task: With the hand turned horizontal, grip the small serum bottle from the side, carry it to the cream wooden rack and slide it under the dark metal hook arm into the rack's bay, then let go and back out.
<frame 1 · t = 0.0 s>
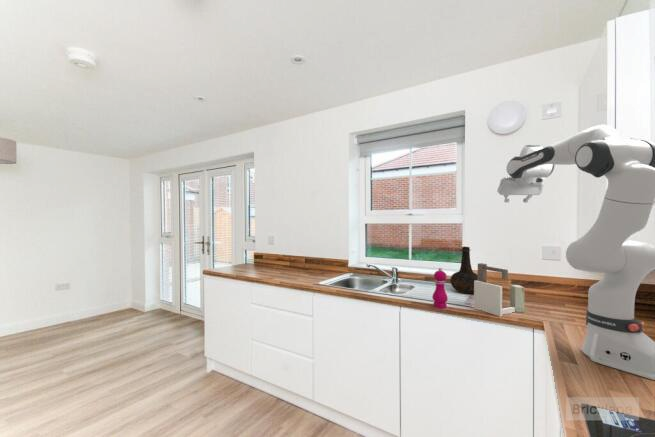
hand: (515, 202, 154), 54 cm above the countertop, tool tilted 30°, fingers open, 8 cm apart
pepper mill: (439, 306, 152), on the countertop
glass bottle: (465, 292, 182), on the countertop
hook: (496, 310, 146), on the countertop
skincare box: (517, 310, 147), on the countertop
rack: (496, 310, 146), on the countertop
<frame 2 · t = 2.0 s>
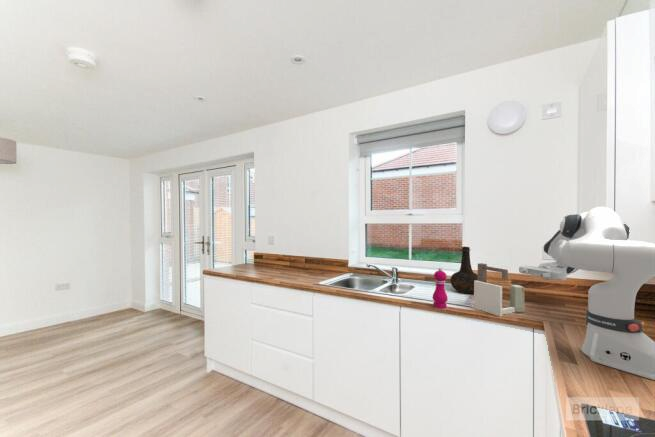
hand: (532, 273, 152), 17 cm above the countertop, tool horizontal, fingers open, 8 cm apart
nothing on the countertop moved.
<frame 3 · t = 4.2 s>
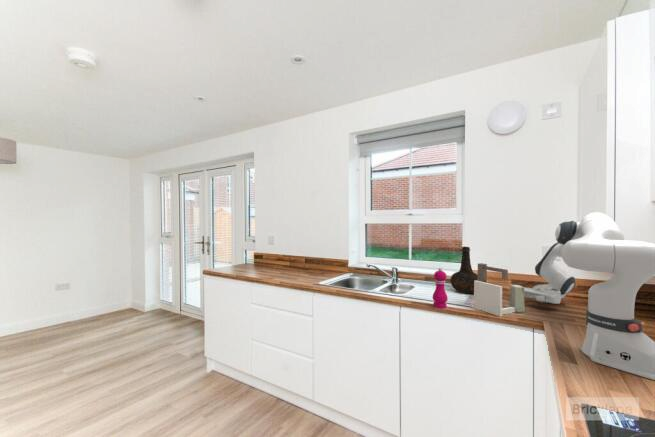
hand: (525, 295, 149), 7 cm above the countertop, tool horizontal, fingers open, 8 cm apart
nothing on the countertop moved.
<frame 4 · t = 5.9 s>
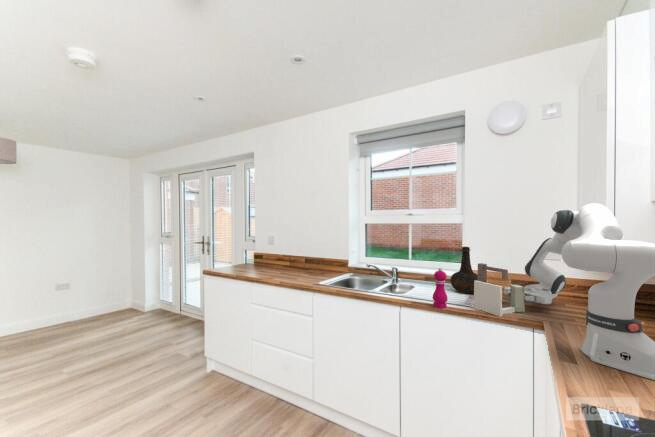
hand: (516, 296, 146), 7 cm above the countertop, tool horizontal, fingers closed on skincare box, 7 cm apart
skincare box: (517, 310, 147), on the countertop, touching gripper
everything else where it was.
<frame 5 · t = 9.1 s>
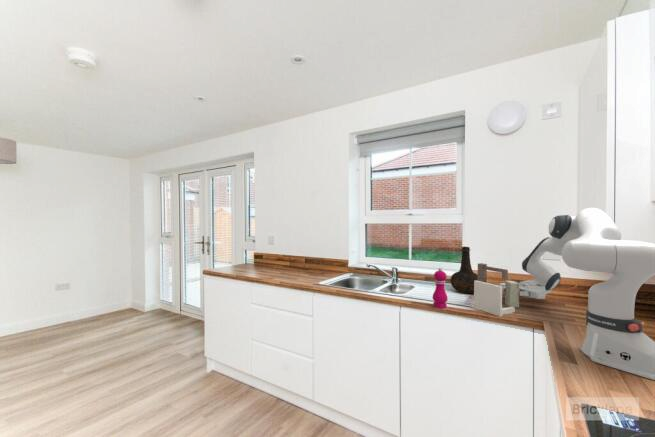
hand: (510, 291, 151), 8 cm above the countertop, tool horizontal, fingers closed on skincare box, 7 cm apart
skincare box: (511, 305, 152), point 1 cm above the countertop, touching gripper
everything else where it was.
when the fingers open (8 cm above the countertop, at t = 12.6 s): skincare box stays where it is, on the countertop.
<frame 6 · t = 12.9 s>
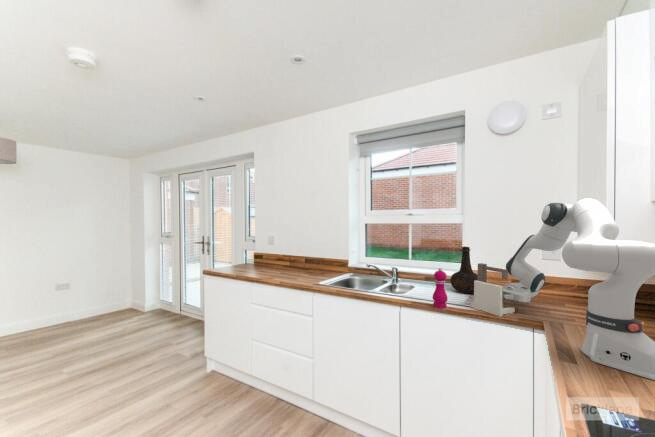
hand: (495, 294, 146), 8 cm above the countertop, tool horizontal, fingers open, 8 cm apart
skincare box: (496, 310, 146), on the countertop
everything else where it was.
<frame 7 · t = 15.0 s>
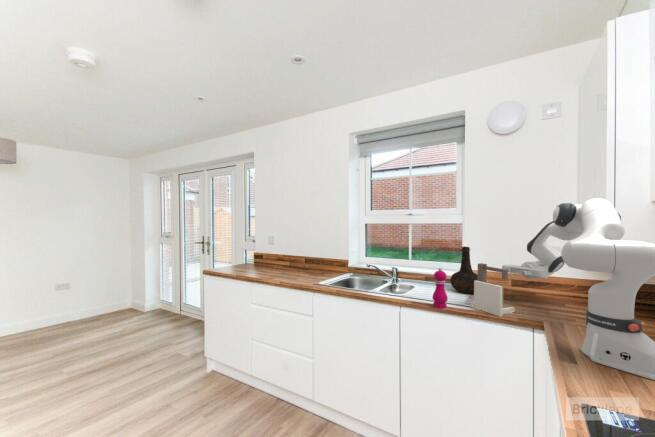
hand: (514, 271, 152), 18 cm above the countertop, tool horizontal, fingers open, 8 cm apart
nothing on the countertop moved.
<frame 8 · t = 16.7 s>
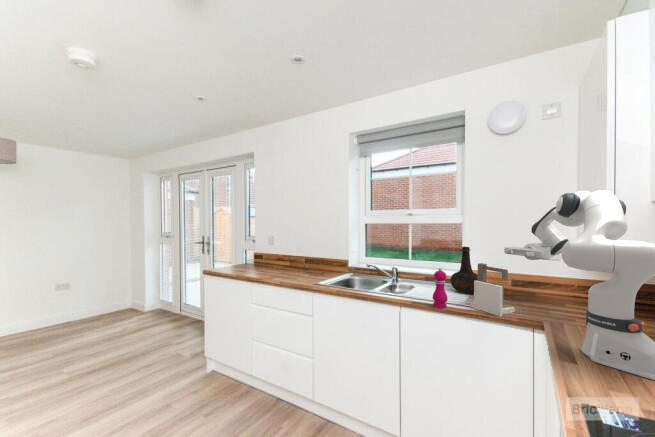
hand: (516, 252, 152), 28 cm above the countertop, tool horizontal, fingers open, 8 cm apart
nothing on the countertop moved.
at the end: skincare box inside the target area (0.3 cm from its centre), on the countertop; skincare box tilted 0°; the gripper is holding nothing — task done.
